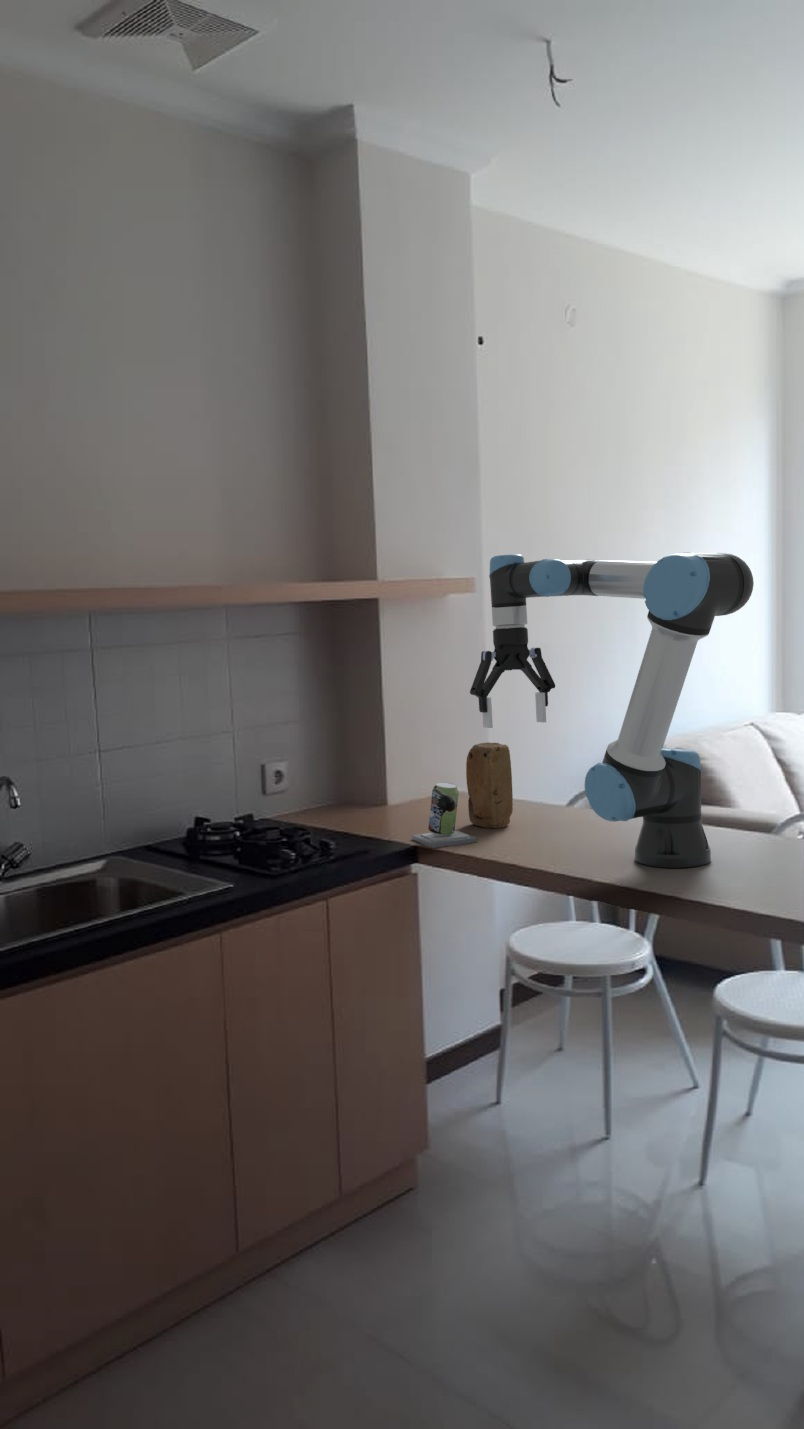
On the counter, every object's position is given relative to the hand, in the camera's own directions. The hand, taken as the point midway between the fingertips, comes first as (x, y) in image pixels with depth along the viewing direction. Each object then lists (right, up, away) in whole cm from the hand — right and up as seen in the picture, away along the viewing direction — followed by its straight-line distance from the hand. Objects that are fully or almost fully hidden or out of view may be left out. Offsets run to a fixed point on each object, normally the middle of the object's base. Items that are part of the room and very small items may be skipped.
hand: (515, 724), depth 246 cm
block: (-3, -25, +28) cm, 38 cm away
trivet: (-15, -27, +13) cm, 33 cm away
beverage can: (-15, -26, +13) cm, 32 cm away
